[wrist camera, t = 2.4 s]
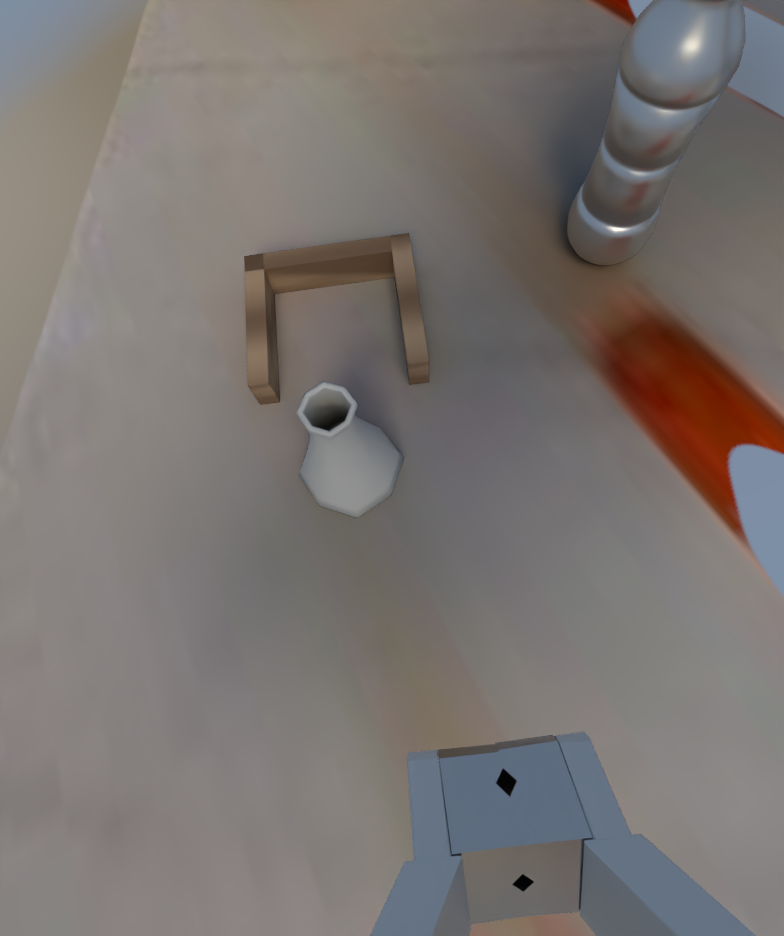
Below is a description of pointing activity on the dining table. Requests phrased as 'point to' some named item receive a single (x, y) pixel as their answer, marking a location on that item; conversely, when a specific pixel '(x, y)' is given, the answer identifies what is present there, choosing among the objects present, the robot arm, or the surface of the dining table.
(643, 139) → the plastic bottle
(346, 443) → the flask
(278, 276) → the walnut bay
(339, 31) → the dining table surface
